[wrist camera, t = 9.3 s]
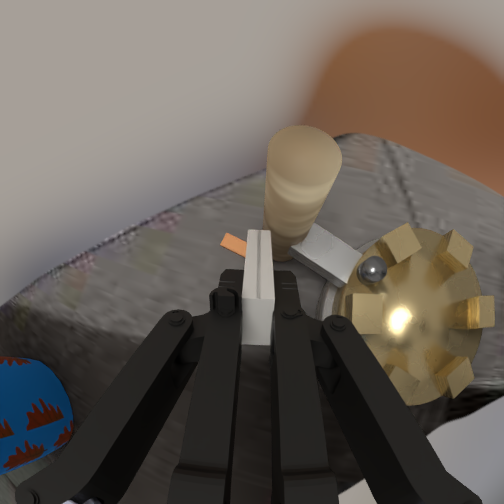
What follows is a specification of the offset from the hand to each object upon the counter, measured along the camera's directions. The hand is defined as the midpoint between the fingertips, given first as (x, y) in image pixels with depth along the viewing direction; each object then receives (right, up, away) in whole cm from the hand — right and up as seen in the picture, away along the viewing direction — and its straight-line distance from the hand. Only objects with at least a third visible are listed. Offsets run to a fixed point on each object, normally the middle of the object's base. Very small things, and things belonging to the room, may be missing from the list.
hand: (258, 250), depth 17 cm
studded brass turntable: (+9, -4, +4) cm, 11 cm away
